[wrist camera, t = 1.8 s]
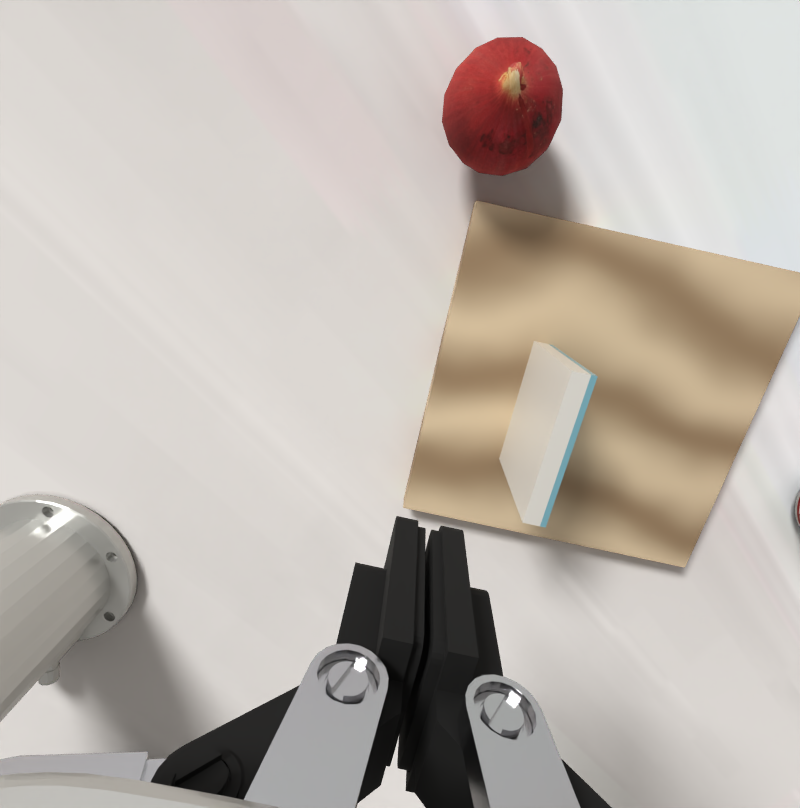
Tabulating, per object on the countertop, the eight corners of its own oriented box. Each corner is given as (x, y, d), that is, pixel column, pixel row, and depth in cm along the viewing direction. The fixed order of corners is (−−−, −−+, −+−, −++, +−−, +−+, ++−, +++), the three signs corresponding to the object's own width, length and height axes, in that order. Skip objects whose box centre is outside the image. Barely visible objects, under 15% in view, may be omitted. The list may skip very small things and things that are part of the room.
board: (674, 554, 35) (684, 567, 34) (404, 497, 35) (403, 507, 33) (798, 275, 29) (817, 276, 28) (474, 203, 29) (476, 200, 28)
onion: (564, 132, 28) (617, 86, 20) (485, 206, 29) (506, 189, 21) (499, 45, 27) (528, -40, 19) (420, 126, 28) (418, 77, 20)
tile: (516, 462, 32) (545, 527, 24) (499, 458, 32) (522, 522, 24) (553, 345, 30) (597, 376, 22) (534, 341, 30) (571, 370, 22)
